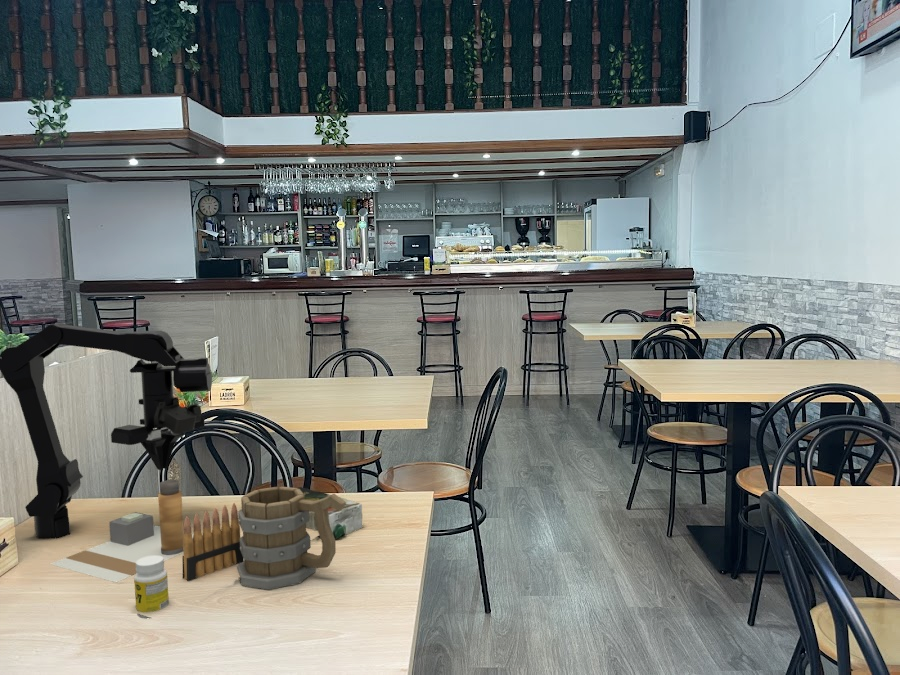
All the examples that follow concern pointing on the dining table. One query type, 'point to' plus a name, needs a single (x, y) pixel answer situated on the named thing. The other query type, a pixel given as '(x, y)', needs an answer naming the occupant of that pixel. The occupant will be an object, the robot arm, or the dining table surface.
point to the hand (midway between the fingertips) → (162, 469)
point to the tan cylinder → (171, 517)
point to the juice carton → (336, 514)
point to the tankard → (282, 536)
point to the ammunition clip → (211, 544)
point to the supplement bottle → (150, 584)
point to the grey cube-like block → (131, 528)
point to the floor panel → (114, 558)
